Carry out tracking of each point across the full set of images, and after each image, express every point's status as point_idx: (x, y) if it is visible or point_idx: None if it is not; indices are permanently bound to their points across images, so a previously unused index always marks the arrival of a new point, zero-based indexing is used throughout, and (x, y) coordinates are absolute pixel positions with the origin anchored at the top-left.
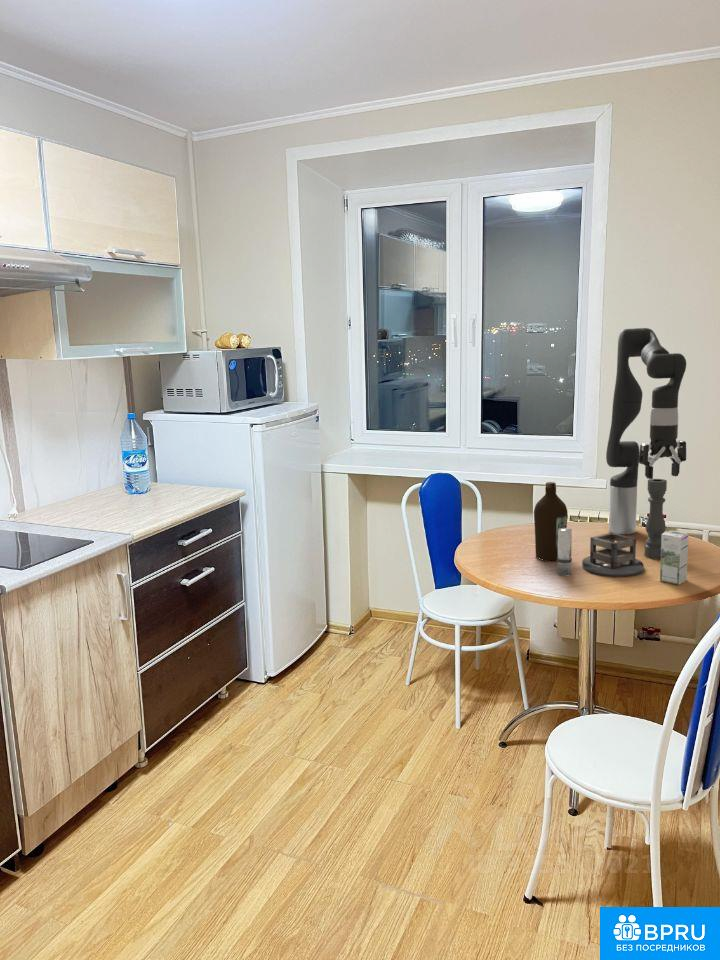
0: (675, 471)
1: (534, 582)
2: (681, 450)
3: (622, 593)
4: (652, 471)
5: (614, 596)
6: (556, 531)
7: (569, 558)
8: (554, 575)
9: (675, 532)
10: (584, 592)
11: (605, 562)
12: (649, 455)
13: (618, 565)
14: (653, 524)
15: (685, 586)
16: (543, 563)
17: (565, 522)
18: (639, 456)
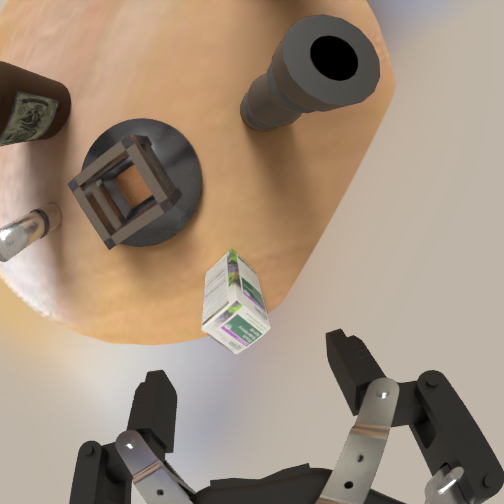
0: (336, 377)
1: (17, 255)
2: (432, 465)
3: (128, 318)
4: (171, 428)
5: (116, 327)
6: (11, 143)
7: (41, 236)
8: None
9: (240, 326)
10: (77, 306)
11: (122, 182)
12: (146, 494)
13: (143, 203)
14: (263, 116)
15: None
16: (30, 153)
17: (16, 125)
18: (73, 482)
